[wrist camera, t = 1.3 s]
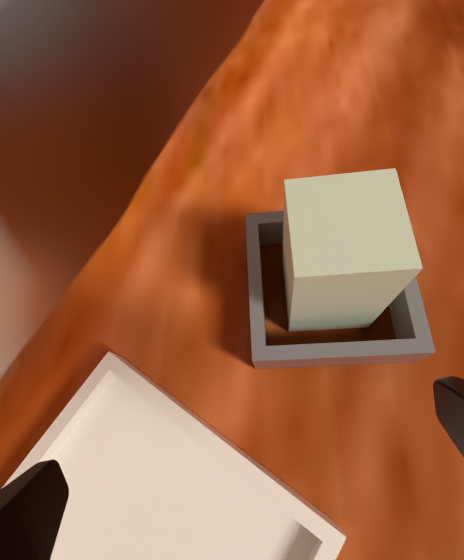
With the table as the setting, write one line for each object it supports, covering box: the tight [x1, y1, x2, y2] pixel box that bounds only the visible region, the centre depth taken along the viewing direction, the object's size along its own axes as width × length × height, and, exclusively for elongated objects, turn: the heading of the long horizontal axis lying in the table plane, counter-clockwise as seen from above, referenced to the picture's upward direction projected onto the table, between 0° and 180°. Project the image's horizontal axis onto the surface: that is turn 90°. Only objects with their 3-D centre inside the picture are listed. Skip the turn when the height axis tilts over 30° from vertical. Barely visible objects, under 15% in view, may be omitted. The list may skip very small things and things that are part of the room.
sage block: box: [283, 168, 423, 332], centre depth 19 cm, size 5×5×9 cm
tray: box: [2, 351, 346, 560], centre depth 18 cm, size 16×12×2 cm
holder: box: [245, 211, 436, 369], centre depth 21 cm, size 10×10×3 cm
